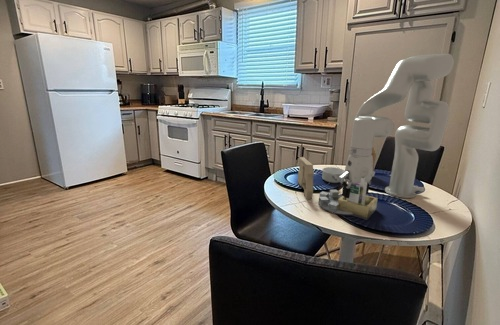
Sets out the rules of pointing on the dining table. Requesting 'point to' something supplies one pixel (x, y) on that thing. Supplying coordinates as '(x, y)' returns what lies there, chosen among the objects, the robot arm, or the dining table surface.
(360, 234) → the dining table surface
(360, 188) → the syrup box
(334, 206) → the beige and grey tray
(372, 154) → the decorative item
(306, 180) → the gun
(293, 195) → the dining table surface
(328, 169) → the saucepan
